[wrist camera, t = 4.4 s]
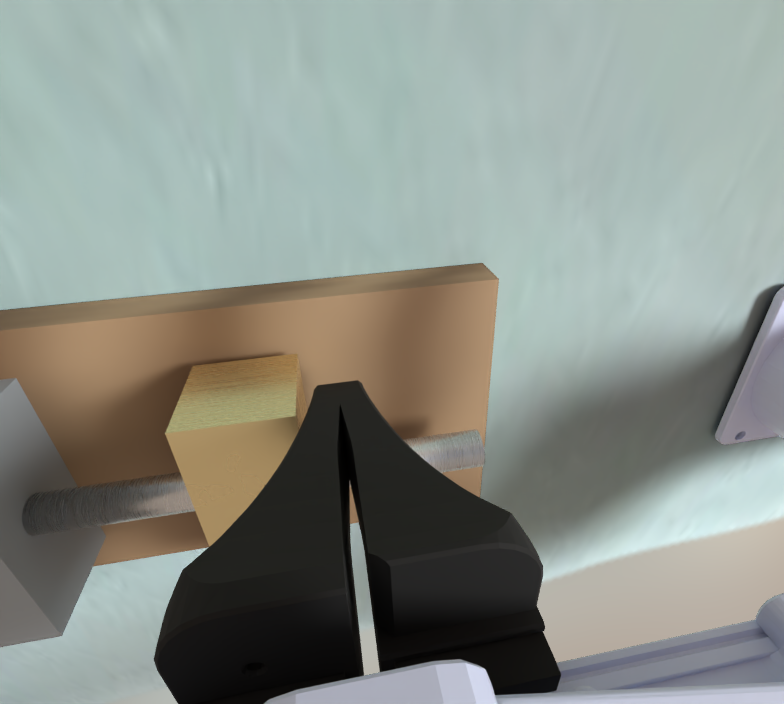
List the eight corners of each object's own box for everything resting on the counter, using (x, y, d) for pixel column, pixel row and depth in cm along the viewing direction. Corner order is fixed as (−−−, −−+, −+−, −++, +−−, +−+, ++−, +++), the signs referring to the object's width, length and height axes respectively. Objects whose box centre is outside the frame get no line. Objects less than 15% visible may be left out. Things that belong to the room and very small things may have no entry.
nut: (297, 353, 13) (295, 415, 11) (325, 512, 17) (328, 587, 14) (192, 366, 13) (165, 433, 10) (243, 525, 17) (232, 604, 14)
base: (482, 263, 15) (552, 331, 11) (468, 476, 20) (512, 579, 16) (-120, 322, 13) (-331, 437, 9) (36, 544, 18) (-48, 685, 14)
